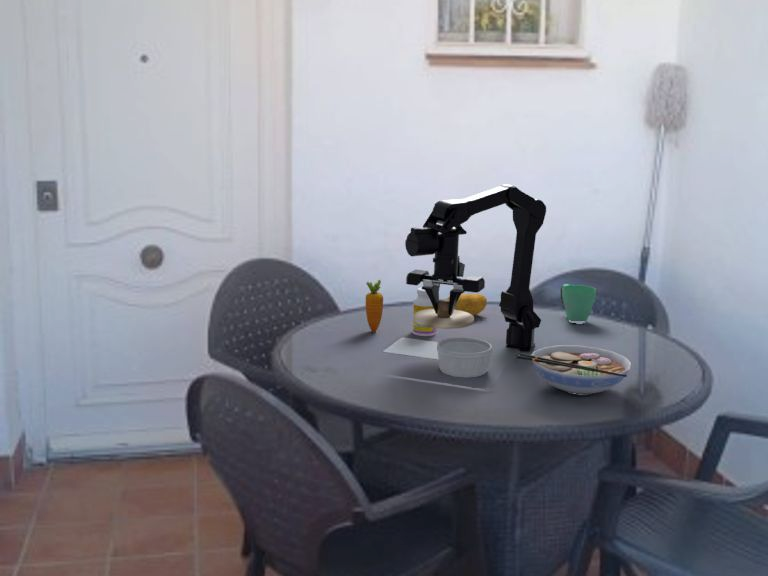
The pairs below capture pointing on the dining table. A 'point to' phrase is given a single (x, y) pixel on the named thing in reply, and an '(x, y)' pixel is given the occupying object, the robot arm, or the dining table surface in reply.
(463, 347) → the ramekin
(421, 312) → the lid
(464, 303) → the potato
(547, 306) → the dining table surface
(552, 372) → the ramen bowl
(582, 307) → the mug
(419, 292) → the supplement bottle
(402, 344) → the mat
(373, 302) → the carrot
